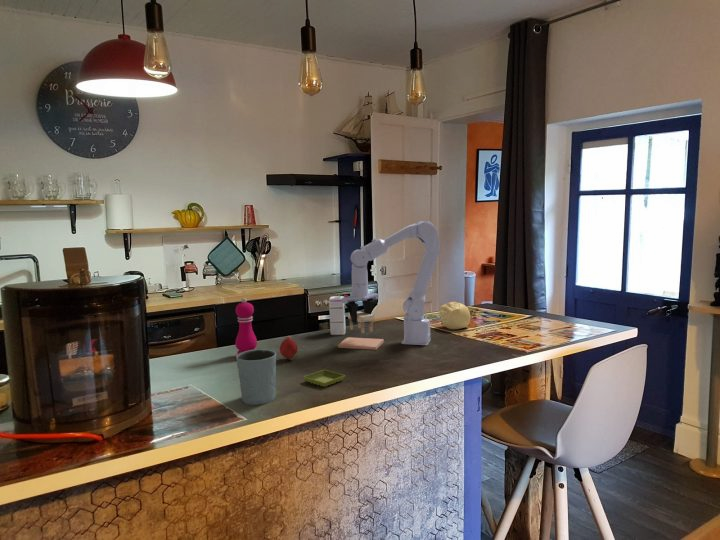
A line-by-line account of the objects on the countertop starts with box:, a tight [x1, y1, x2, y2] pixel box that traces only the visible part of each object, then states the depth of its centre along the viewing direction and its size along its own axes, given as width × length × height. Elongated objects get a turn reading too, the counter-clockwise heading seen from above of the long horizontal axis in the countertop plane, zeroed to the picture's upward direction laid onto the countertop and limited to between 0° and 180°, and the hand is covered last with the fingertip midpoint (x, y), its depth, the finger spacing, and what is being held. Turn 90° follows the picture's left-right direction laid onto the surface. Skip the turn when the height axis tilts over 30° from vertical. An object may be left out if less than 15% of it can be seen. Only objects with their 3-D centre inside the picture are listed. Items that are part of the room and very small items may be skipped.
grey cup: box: [235, 348, 277, 406], centre depth 135 cm, size 10×10×12 cm
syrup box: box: [328, 295, 347, 336], centre depth 205 cm, size 6×6×14 cm
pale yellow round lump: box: [439, 301, 471, 330], centre depth 210 cm, size 11×12×11 cm
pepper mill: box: [235, 297, 258, 356], centre depth 175 cm, size 7×7×20 cm
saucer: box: [303, 369, 346, 388], centre depth 148 cm, size 9×9×2 cm
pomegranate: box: [279, 335, 299, 361], centre depth 171 cm, size 6×6×8 cm
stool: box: [347, 310, 375, 334], centre depth 187 cm, size 9×5×6 cm, turn 34°
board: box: [337, 337, 385, 351], centre depth 188 cm, size 14×11×1 cm
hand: (360, 321), depth 187 cm, fingers closed on stool, 5 cm apart
